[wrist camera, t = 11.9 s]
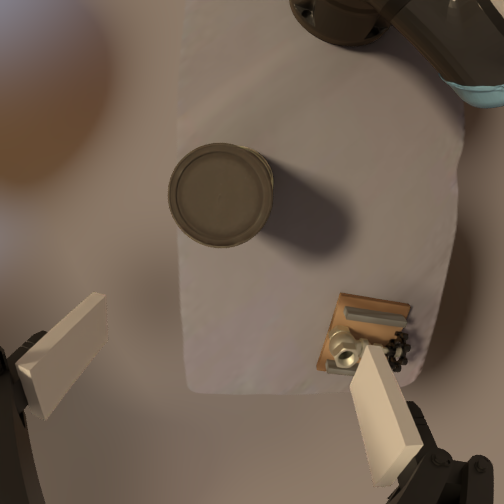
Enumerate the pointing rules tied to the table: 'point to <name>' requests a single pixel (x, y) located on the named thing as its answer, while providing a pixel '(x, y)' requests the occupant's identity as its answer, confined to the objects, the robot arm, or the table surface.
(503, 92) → the robot arm
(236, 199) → the coffee can
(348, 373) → the board
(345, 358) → the valve
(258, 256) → the table surface
